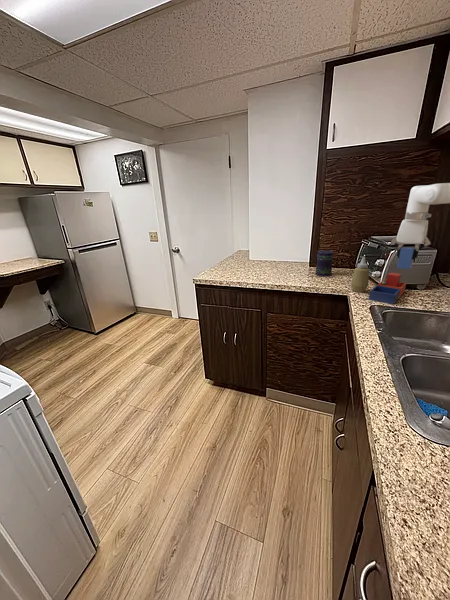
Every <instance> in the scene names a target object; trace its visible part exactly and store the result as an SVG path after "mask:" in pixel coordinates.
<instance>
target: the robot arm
mask: <svg viewBox="0 0 450 600" xmlns="http://www.w3.org/2000/svg"><path fill="white" fill-rule="evenodd" d="M407 201H408V202H407V206H406V211H405V215H404V219H403V220H402V221H401V223H400V226H399V229H398V232H397V235H396V236H395V237H394V238H393V239H392V240H391V241H390V242H391V244H393V246H394V247H395V248H396V249H397V252H396V257H397V259H399V256H400V251H401V248H403V247H404V245H405V244H410V245H414V246H415V247H414V248H415V251H414V253H413V257H412V260H413V261H414V260H416V259H417V258H418V256H419V251H420V250H422V249H423V248H426V247H428V246H429V245H431V244H432V243H431V241H430V239H429V237H427V236H428V229H429V220H428V218H431V217H432V213H429V210H430V209H429V208H430V205H442V204H444V205H445V204H450V182H443V183H432V184H428V185H427V184H426V185H425V184H424V185H423V184H422V185H415V186H413V187H411V189H410V192H409V197H408V200H407Z"/></svg>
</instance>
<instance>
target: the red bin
mask: <svg viewBox="0 0 450 600" xmlns="http://www.w3.org/2000/svg"><path fill="white" fill-rule="evenodd" d="M377 285H378V286H384V287H389V288H395V289H400V294H399V298H400V297H401V296H402V295H403V294H404V293H405V291H406V286H407V282H404V281H403V282H402V281H399V286H398V287H394V286H388V285H382V282H381V281H380V282H379V283H378V284H377Z"/></svg>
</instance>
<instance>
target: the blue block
mask: <svg viewBox="0 0 450 600" xmlns="http://www.w3.org/2000/svg"><path fill="white" fill-rule="evenodd" d="M414 251H415V247H411V246H410V247H409V246H402V248H401V251H400V256H399V258H398V261H397V264H396V265H397V266H396V268H397V269H404V270H410V269H411V268H412V267H413V263H414V260H412V257H413V253H414Z"/></svg>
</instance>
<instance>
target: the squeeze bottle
mask: <svg viewBox="0 0 450 600" xmlns="http://www.w3.org/2000/svg"><path fill="white" fill-rule="evenodd" d="M369 278H370V269H369V264H368V263H367V261H366V256H362V257H361V260H360V262H359V263H357V266H356V267H355V268H354V272H353V275H352V279H351V282H350V285H351V288H352V291H353V292H355V293H364V292H366V290H367V289H368V287H369V280H370V279H369Z"/></svg>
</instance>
